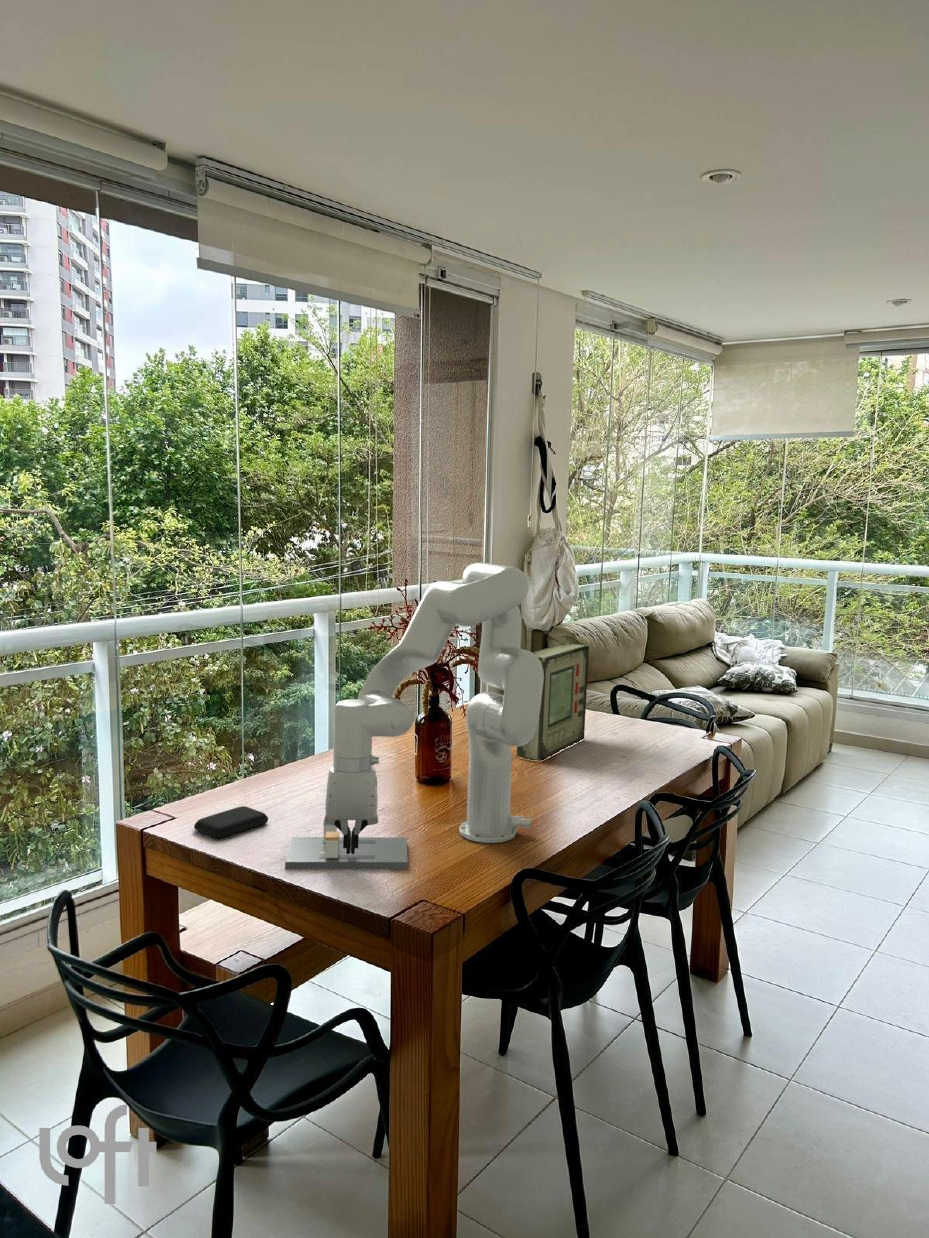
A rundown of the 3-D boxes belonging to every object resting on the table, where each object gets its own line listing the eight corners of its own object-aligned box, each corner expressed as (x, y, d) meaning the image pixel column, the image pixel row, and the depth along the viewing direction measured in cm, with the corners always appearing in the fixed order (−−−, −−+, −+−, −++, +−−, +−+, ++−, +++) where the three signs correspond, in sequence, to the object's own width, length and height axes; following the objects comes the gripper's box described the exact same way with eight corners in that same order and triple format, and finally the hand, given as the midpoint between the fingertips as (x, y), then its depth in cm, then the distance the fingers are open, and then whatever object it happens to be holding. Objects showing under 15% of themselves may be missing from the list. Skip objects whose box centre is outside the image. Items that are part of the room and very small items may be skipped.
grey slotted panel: (406, 844, 193) (406, 837, 192) (407, 869, 180) (407, 861, 179) (292, 843, 191) (292, 836, 190) (285, 869, 178) (285, 861, 178)
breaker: (336, 837, 190) (337, 817, 190) (335, 842, 187) (336, 822, 187) (324, 836, 190) (324, 817, 189) (323, 842, 187) (323, 822, 186)
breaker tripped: (339, 851, 182) (339, 831, 182) (338, 858, 179) (338, 837, 179) (326, 851, 182) (326, 831, 182) (324, 858, 179) (325, 837, 178)
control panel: (540, 763, 255) (544, 658, 251) (516, 758, 259) (521, 655, 255) (583, 740, 280) (588, 645, 276) (562, 736, 284) (566, 642, 280)
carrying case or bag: (241, 814, 208) (186, 831, 196) (241, 801, 208) (186, 818, 196) (272, 825, 202) (217, 844, 190) (272, 812, 201) (217, 830, 190)
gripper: (390, 757, 183) (388, 844, 185) (315, 756, 181) (314, 844, 184) (390, 768, 175) (388, 859, 178) (312, 767, 174) (311, 858, 176)
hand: (350, 851), depth 181 cm, fingers closed
